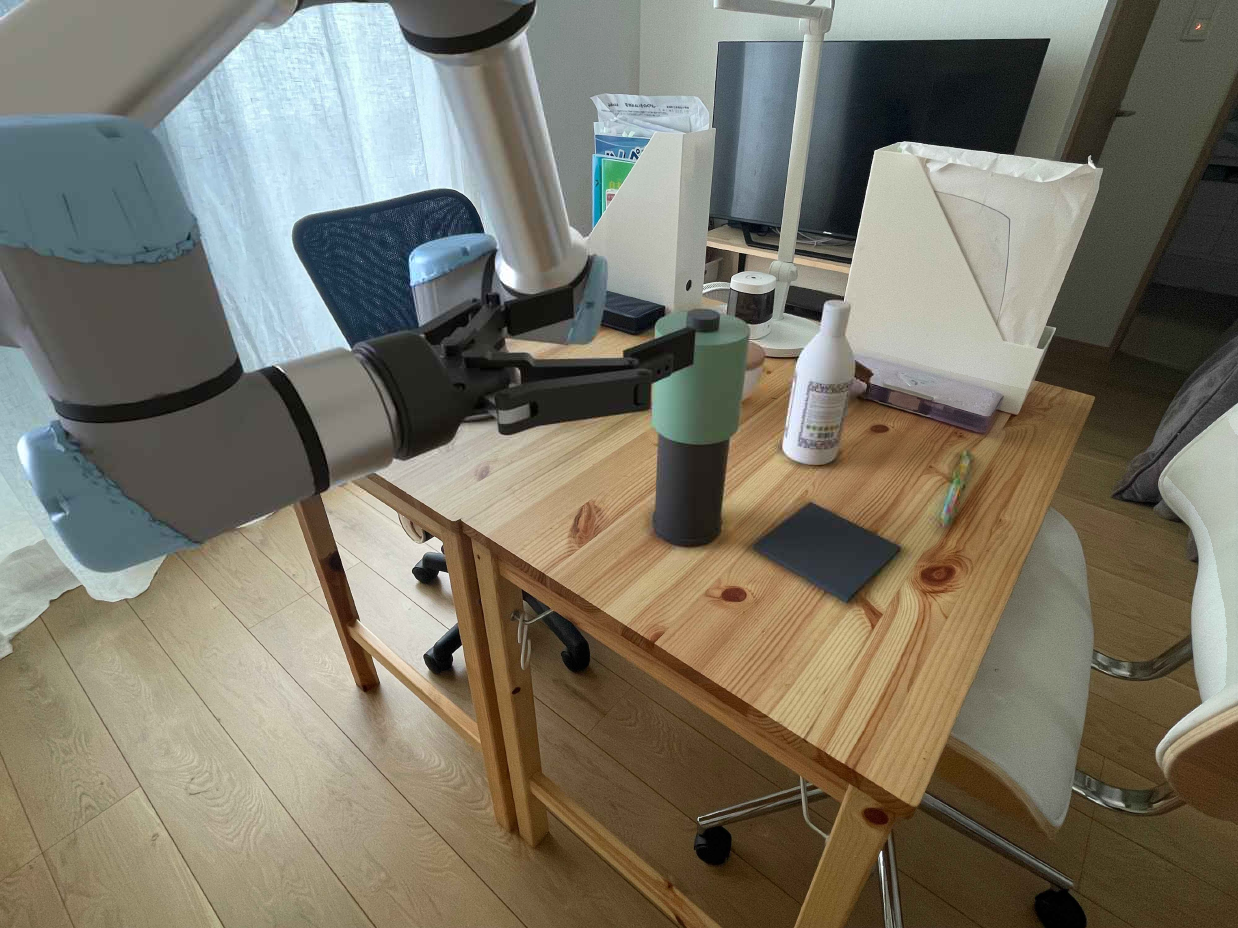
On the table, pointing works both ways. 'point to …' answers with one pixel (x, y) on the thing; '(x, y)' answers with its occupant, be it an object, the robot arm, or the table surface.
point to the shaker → (689, 491)
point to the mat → (827, 550)
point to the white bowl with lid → (753, 368)
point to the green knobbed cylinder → (703, 379)
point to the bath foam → (821, 390)
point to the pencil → (956, 488)
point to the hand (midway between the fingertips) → (626, 321)
